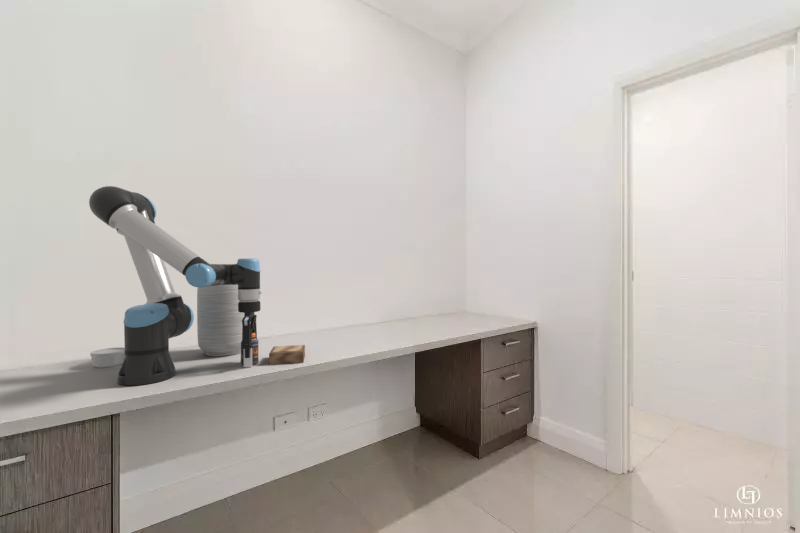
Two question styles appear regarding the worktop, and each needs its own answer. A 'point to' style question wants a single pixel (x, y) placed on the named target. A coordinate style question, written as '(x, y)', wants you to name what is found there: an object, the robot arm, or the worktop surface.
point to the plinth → (287, 354)
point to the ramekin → (108, 357)
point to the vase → (219, 320)
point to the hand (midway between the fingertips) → (250, 363)
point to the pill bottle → (254, 351)
